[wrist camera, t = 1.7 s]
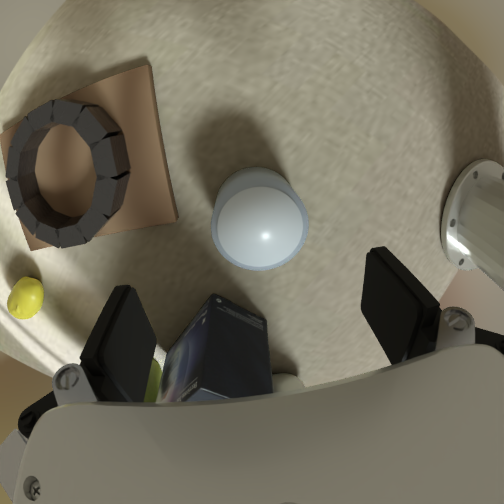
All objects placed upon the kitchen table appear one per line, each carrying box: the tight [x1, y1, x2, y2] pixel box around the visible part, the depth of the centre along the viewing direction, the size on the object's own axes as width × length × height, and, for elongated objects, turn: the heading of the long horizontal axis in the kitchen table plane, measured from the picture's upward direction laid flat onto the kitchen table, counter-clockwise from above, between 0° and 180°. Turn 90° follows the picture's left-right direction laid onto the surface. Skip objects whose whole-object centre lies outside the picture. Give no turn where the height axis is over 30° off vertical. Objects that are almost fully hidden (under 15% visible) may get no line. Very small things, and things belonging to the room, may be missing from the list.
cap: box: [211, 167, 308, 271], centre depth 19 cm, size 6×6×5 cm
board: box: [0, 64, 179, 251], centre depth 18 cm, size 16×12×1 cm
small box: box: [156, 294, 274, 402], centre depth 22 cm, size 11×6×10 cm, turn 145°
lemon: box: [7, 277, 44, 319], centre depth 22 cm, size 4×8×4 cm, turn 117°
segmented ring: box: [6, 99, 131, 248], centre depth 16 cm, size 11×11×2 cm
